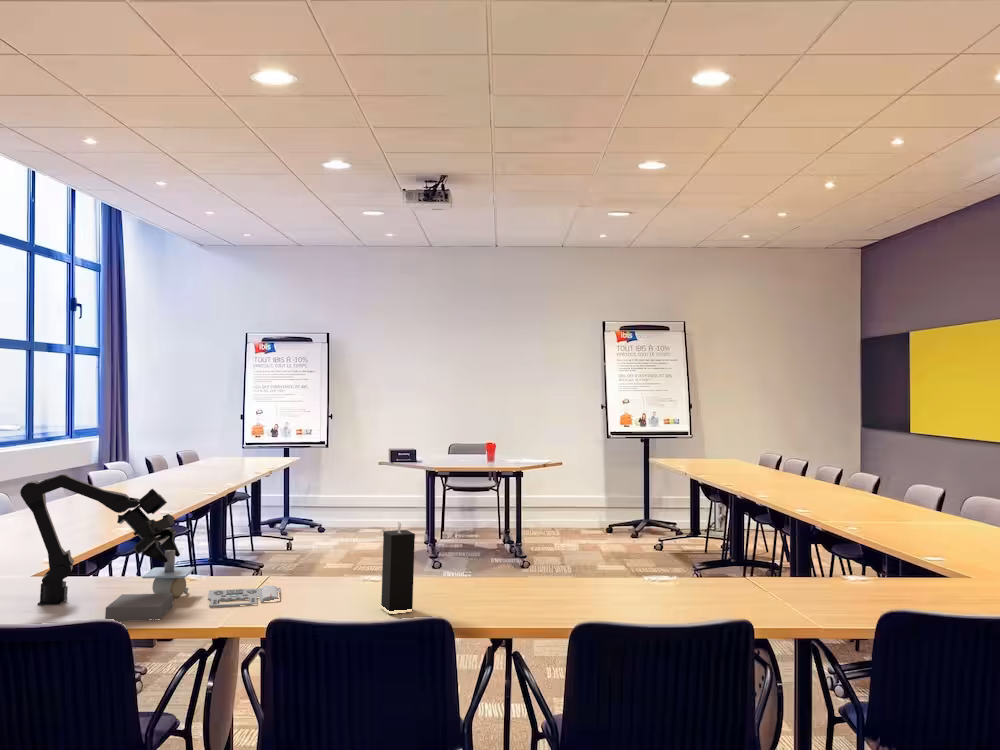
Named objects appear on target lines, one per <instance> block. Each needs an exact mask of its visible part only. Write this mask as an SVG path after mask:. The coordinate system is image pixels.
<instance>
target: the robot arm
mask: <svg viewBox="0 0 1000 750" xmlns="http://www.w3.org/2000/svg"><path fill="white" fill-rule="evenodd" d="M61 488H63V489H65V490H68V491H71V492H74V493H75V494H79V495H81V496H84V497H86V498H88V499H91V500H94V501H96V502H98V503H100V504H102V505H103V506H104V507H106V508H108V509H109V510H111V511H113V512H115V513H118V515H117V524H119V525H121V524H123V523H124V522H125V523H126V524H127V525H128V526H129V527H130V528H131V529H132V531H133V535H134V536H138V537H139V538H140V540H139V541H138V542H137V543H136V544H135V545H134V549H133V550H134V552H136V554H137V555H140V554H141V555H142V556H146V557H149V558H152V559H155V560H157V561H160V562H163V563H164V564H165V563H166V562H167V561H168V559H167V558H166V556H165V552H163V551H162V550H164V551H166V550H175V558H176V557H180V556H181V553H180V551H179V549H178V547H177V544H176V542H175V538H176V533H177V531H176V529H174V527H171V526H174V525H175V524H176V522H175V520H176V518H175V517H174V516H173V514H170V513H167V514H164V515H162V518H161V519H159V520H156V519H150V518H149V517H148V516H147V515H149V514H152V515H154V514H156V513H157V512H158V511H159V510H160V509H162V507H164V506H165V505H166V504H167V503H168V502H167V500H166V499H165V497H163V496H162V495H161V494H159V493H158V492H157V491H156V490H155V489H154V488H151V489H150V490H149V491H148V492H147V493H145V495H143V496H142V497H141V498H136V497H130V496H129V495H128V494H126V493H122V492H119V491H115V490H114V491H113V490H106V489H103V488H100V487H97V486H95V485H92V484H91V483H87V482H84V481H83V480H80V479H77V478H75V477H72V476H70V475H68V474H66V473H61V474H58V475H57V476H53V477H50V478H46V479H44V480H41V481H38V480H31V481H30V480H29V481H28V482H26V483H25V484H23V486H22V487H21V489H20V496H21V498H22V500H23V502H24V503H25V505H26V506H27V508H29V510H30V511H31V512H32V514H33V517H34V519H35V522H36V525H37V527H38V530H39V533H40V536H41V539H42V540H43V543H44V546H45V550H46V552H47V556H48V557H47V559H48V567H49V570H47V572H45V574H44V575H43V577H42V579H41V582H42V583H41V584H40V591H39V592H40V594H39V595H40V597H39V602H37V605H38V606H48V605H51V606H52V605H57V606H59V605H61V604H63V603H64V602H66V601H68V588H69V586H67V580H64V579H67V577H69V575H70V574H71V572H72V570H73V565H74V563H75V560H74V559H73V558H72V553H71V550H70V549H68V550H65V549H64V548H63V547H62V545H61V541H60V540H59V537H58V534H57V531H56V529H55V526H54V524H53V520H52V517H51V515H50V513H49V510H48V507H47V499H46V496H47V495H46V494H48V493H50V492H52V491H56V490H58V489H61ZM143 511H144V512H145V513H144V512H143ZM122 513H123V514H122ZM146 514H147V515H146Z"/></svg>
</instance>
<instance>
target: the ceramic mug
mask: <svg viewBox="0 0 1000 750" xmlns="http://www.w3.org/2000/svg"><path fill="white" fill-rule="evenodd" d="M153 579H154V580H153V582H152V592H153V594H169V593H173V599H174V598H175V599H177V598H179V597H181V596H182V595H184V592H185V593H186V594H188V592H189V588H188V587H187V580H186V578H153Z"/></svg>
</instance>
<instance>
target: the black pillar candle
mask: <svg viewBox="0 0 1000 750" xmlns="http://www.w3.org/2000/svg"><path fill="white" fill-rule="evenodd" d="M401 526H402V524H401V522H400V521H397V528H398V529H397V530H383V532H382V534H383V538H382V539H383V544H382V570H381V571H382V574H381V576H382V577H381V602H380V605H382V606H383V607H385V608H386V609H387V610H389V611H394V610H407V609H412V610H413V604H414V601H413V600H414V599H413V598H414V574H415V573H414V569H415V568H414V567H415V566H414V565H415V539H416V534H415V533H414V532H412V531H409V530H407V529H401Z"/></svg>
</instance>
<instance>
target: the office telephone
mask: <svg viewBox="0 0 1000 750" xmlns="http://www.w3.org/2000/svg"><path fill="white" fill-rule="evenodd" d="M277 591H278V592H281V587H277V586H275V585H270V584H269V585H264V586H262V587H261V588H238V589H236V588H235V589H234V588H233V589H212V590H211V589H209V590H208V595H207V601H208V600H210V601H209V602H210V604H209V605H208V608H209V607H210V609H212V608H213V607H218V608H231V607H230V606H236V607H241V606H240V605H252V604H259V603H258V600H257V599H258V598H257V597H260V599H259V601H261V602H264V601H270V600H274V599H279V598H278V592H277ZM245 599H249V600H248V601H249V602H235V603H219V602H218V601H225V602H232V601H231V600H242V601H246V600H245ZM252 606H253V605H252ZM213 609H214V608H213Z"/></svg>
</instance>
